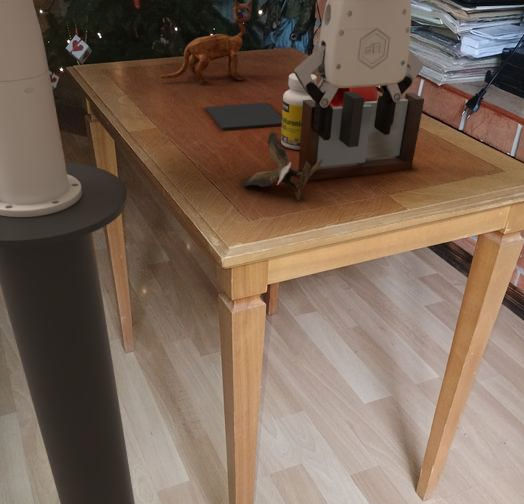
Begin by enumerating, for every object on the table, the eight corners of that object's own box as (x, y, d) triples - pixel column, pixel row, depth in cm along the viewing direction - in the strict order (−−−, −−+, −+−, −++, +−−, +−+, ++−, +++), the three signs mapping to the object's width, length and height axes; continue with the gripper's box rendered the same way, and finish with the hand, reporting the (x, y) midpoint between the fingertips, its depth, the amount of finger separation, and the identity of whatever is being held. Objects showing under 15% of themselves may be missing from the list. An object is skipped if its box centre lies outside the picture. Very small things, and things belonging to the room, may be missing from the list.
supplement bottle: (273, 143, 93) (276, 75, 87) (297, 135, 96) (301, 68, 90) (299, 153, 90) (304, 83, 84) (323, 145, 93) (329, 76, 87)
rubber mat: (222, 130, 97) (222, 127, 97) (205, 109, 105) (205, 106, 105) (287, 125, 100) (288, 122, 100) (266, 105, 108) (266, 102, 108)
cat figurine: (165, 88, 114) (159, 5, 106) (156, 79, 119) (150, -2, 111) (255, 81, 120) (257, 1, 111) (243, 73, 125) (244, -5, 116)
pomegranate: (359, 108, 108) (366, 50, 102) (385, 126, 101) (394, 65, 95) (307, 112, 106) (311, 53, 100) (330, 131, 98) (336, 69, 92)
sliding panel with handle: (325, 175, 80) (332, 100, 74) (314, 165, 83) (320, 91, 77) (374, 170, 82) (385, 96, 76) (362, 160, 85) (372, 88, 79)
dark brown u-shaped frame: (305, 180, 82) (311, 107, 76) (297, 172, 84) (302, 100, 79) (411, 169, 86) (424, 98, 81) (401, 161, 89) (413, 92, 83)
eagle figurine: (326, 178, 80) (273, 149, 83) (320, 143, 73) (263, 113, 77) (291, 222, 79) (238, 190, 82) (281, 190, 72) (225, 157, 76)
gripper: (310, -20, 63) (299, 150, 73) (458, -23, 67) (427, 138, 78) (285, -30, 68) (278, 130, 79) (423, -32, 73) (399, 119, 84)
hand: (352, 133), depth 78 cm, fingers open, 7 cm apart
